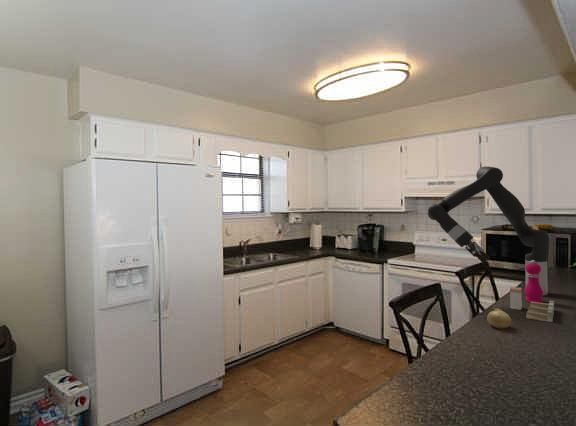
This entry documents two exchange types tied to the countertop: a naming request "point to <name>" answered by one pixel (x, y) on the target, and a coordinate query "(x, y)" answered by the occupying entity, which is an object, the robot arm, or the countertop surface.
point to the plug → (516, 298)
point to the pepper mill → (533, 283)
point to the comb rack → (541, 311)
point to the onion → (499, 319)
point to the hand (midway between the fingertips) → (487, 260)
